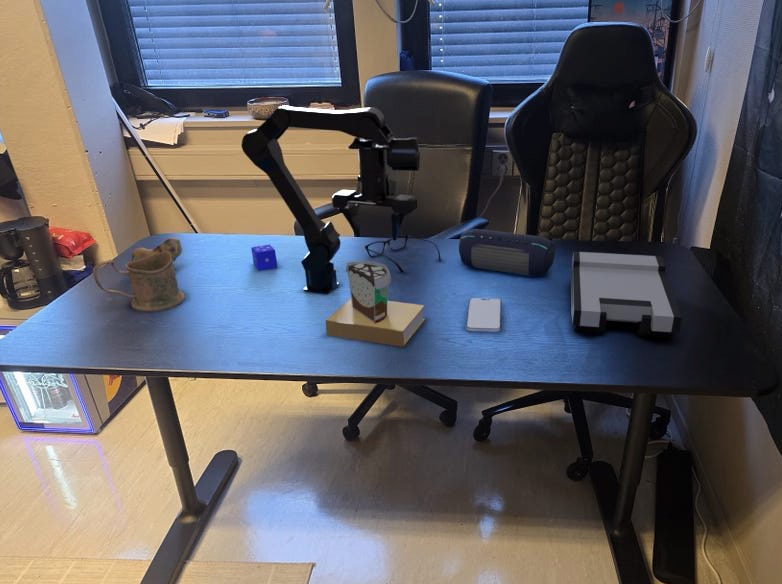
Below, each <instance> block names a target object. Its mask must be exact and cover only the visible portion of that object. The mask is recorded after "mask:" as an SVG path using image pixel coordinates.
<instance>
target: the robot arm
mask: <svg viewBox="0 0 782 584" xmlns="http://www.w3.org/2000/svg"><path fill="white" fill-rule="evenodd" d="M289 128H298V129H310V130H320V131H321V130H322V131H334V132H341V133H344V134H347V135H348V136H351V137H354V139H353V141H352V142H351V143H350V144H349V145H348V147H347V148H348V150H357V151H358V152H357V153H358V154H357V155H358V167H359V168H358V169H359V175H358V176H357V182H360V183H359V184H360V194H359V193H358V192H357V191H356V190H351V189H341V190H340V191H337V192H336V193H334V194H333V195H332V197H331V206H332V208H336V209H337V211H338V212H340V213H341V214H342V215H343V217H344V218H345V219H346V221H347V222H348V224H349V225H350V227H351V230H352V231H353V233H354V235H355V236H356V238H359V237H360V236H361V226H360V225H361V224H360V217H359V209H360V205H363V206H374V207H376V206H377V207H386V208H391V210H392V211H393V212H392V213H391V214H390V220H391V222H390V223H391V235H392V238H393V239H392V241H394V242H396V241H397V240H398V237H397V236H399V233H400V231H401V226H402V223H403V221H404V219H405V217H406V216H407V215H409V214H411V213H412V212H413V211H415V210H416V209H417V208H418V199H417V197H416V196H415V195H411V194H399V195H397V196H396V194H397V193H396V192H397V191H396V189H397V181H396V180H394V179H391V178H389V172H388V171H387V172H386V164H387V166H388V167H389V168H391V170H392V171H403V172H404V171H406V172H407V171H408V172H410V171H411V172H418V171H419V170H420V161H421V160H420V159H421V156H420V155H421V152H420V150H419V144H418V137H408V138H406V137H405V138H401V137H399V138H398V137H396V136H395V134H394V133H393V132H392V130H391V129H390V128H389V126H388V125H387V124H386V117H385V116H384V114H383V112H382V111H381V110H380V109H379V108H376V107H374V106H373V107H362V108H354V109H349V110H332V109H321V108H320V109H319V108H307V107H296V106H290V105H282V106H279V107H277V108H276V109H274V111H273V113H272V114H271V115H269V117H268V118H267V119H266V120H264V121H263V122H262V123H261V124H260V125H259V126H258V127H257V128H256V129H253V130H251V131H249V132H247V133H245V135H244V136H243V137H242V139H241V144H240V145H241V150H242V152H243V153H244V155H245V156H246V157H247V158H248V159H249V160H250V161H251V163H252V164H253V165H254V166H255V167H257V168H258V169H259V170H260V171H263V173H264V174H266V175H267V177H268V178H269V180H270V182H271V183H272V185H273V186H274V188H275V189H276V191H277V192H278V194H279V195H280V197H281V198H282V200H283V201H284V203H285V204H286V206H287V208H288V209H289V211H290V212H291V214H292V216H293V217H294V219H295V220H296V222H297V223H298V225H299V226H300V228H301V230H302V234H303V237H304V242H305V245H306V248H307V250H308V253H307V254H306V256H304V258H303V259H302V260H301V261H300V263H301V266H302V267H303V270H304V274H305V275H304V276H305V284H306V286H305V287H304V288H303V291H304V292H309V293H314V294H315V293H316V294H324V295H327V294H330V293H331V291H333V290H334V289H335V288H336V287H338V286H339V285H340V283H339V282H338V279H337V270H336V269H335V264H334V262H331V261H332V260H333V259H334V258H335V256H336V254H337V253H338V252H339V250H340V247H341V239H340V237H341V233H339V232H338V231H337V230H336V228H335V226H334V224H333V222H332V221H331V220H330V221H327V223H326V222H325V221H323V220H321V218H319V216H318V214H317V213H316V211H315V210H314V208H313V207H312V204H311V203H310V201H309V200H308V198H307V197H306V195H305V194H304V192H303V190H302V189H301V187H300V186H299V184H298V183H297V181H296V179H295V178H294V176H293V174H292V173H291V171H290V170H289V168H288V166H287V165H286V162H285V159H284V155H283V151H282V148H281V145H280V143H279V139H281V137H282V136H283V135H284V133H286V132H287V130H288V129H289ZM390 196H394V198H392V197H390Z"/></svg>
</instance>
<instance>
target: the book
mask: <svg viewBox="0 0 782 584" xmlns="http://www.w3.org/2000/svg"><path fill="white" fill-rule="evenodd" d="M424 308H425V304H417V303H408V302H403V301H402V302H401V301H394V300H387V316H386V318H385V319H384V320H382V321H380V322H378V323H373V322H372V321H370V320H369V319H367V318H366V317H364V316H363V315H361V314H360V313H359V312H357V311H356V310H354V309H353V308H352V301H351V297H350V298H349V299H347V301H345V302H344V303H343V304H342V305H341V306H340V307H339V308H338V309H336V310H335V311H334V312H333V313H332V314H331V315H329V316H328V317H327V318H326V319H325V330H326V336H328V337H333V338H341V339H347V340H353V341H361V342H367V343H373V344H380V345H386V346H393V347H400V348H401V347H402V348H404V347H405V346H406V344H407V343H408V342H409V340H411V338H412V337H413V335H414V334H415V333H416V332H417V330H419V328H420V327H421V325H423V323H424V322H425V320H426V319H425V318H424Z"/></svg>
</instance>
